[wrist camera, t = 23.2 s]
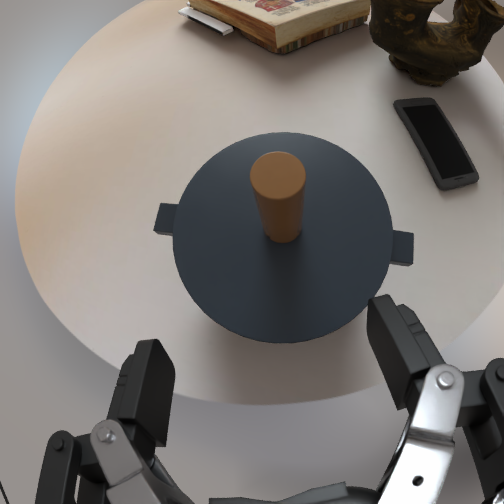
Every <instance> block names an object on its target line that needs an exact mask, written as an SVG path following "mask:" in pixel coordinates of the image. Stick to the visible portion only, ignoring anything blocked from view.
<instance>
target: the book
mask: <svg viewBox="0 0 504 504" xmlns="http://www.w3.org/2000/svg"><path fill="white" fill-rule="evenodd" d="M370 5H371V0H189V2H187V6H189V7H192V8H193V9H191V8H189V7H185V8H183V9H181V10H179V11H178V12H179V14H180V15H183V16H185V17H187V18H189V19H191V20H193V21H195V22H197V23H200V24H202V25H204V26H206V27H207V28H209V29H211V30H213V31H215V32H217V33H219V34H221V35H223V36H224V35H226V34H228V33H230V32H232V31H233V27H231V25H233V26H235V27H237V28H239V29H241V34H243V35H244V36H245V37H247V38H248V39H249V40H251V41H252V42H254V43H256V44H258V45H260V46H262V47H265V48H267V50H268V51H271V52H276V53H280V54H281V53H288V52H290V51H292V50H295V49H298V48H299V47H301V46H306V45H308V44H309V43H311V42H314V41H315V40H318V39H320V38H323V37H327V36H329V35H331V34H338V33H340V32H342V31H345V30H347V29H350V28H351V27H355V26H358V25H361V24H363V23H364V22H366V21H367V18H368V15H369V12H370Z"/></svg>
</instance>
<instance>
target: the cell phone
mask: <svg viewBox="0 0 504 504" xmlns="http://www.w3.org/2000/svg"><path fill="white" fill-rule="evenodd" d="M393 105H394V107H395V109H396V111H397V113H398V114H399V116H400V117H401V119H402V121H403V122H404V124H405V126H406V127H407V129H408V131H409V133H410V134H411V136H412V138H413V140H414V141H415V143H416V145H417V147H418V149H419V150H420V152H421V154H422V156H423V158H424V160H425V162H426V164H427V166H428V168H429V170H430V172H431V174H432V176H433V178H434V180H435V182H436V184H437V186H438V187H439V188H440V189H441V190H448V189H452V188H456V187H460V186H464V185H468V184H472V183H476V182H477V181H478V180H479V175H478V172H477V170H476V168H475V166H474V164H473V163H472V161H471V159H470V157H469V155H468V153H467V151H466V150H465V148H464V146H463V144H462V142H461V141H460V139H459V137H458V136H457V134H456V132H455V131H454V129H453V127H452V126H451V124H450V123H449V121H448V119H447V118H446V116H445V115H444V113H443V112H442V110H441V109H440V107H439V106H438V104H437V103H436V101H435V100H434V99H432V98H412V99H401V100H396V101H394V104H393Z"/></svg>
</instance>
